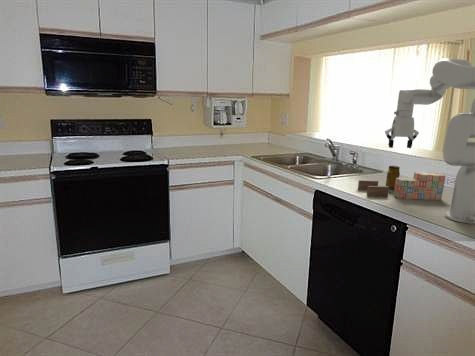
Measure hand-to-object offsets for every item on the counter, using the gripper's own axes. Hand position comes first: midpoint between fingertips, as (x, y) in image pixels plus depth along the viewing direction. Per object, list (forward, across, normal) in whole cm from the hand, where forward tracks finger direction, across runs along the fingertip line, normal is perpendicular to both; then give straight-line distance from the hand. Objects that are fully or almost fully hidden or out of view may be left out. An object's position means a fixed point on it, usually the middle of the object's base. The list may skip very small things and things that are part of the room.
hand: (399, 147), depth 184 cm
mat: (+22, -1, +1) cm, 23 cm away
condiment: (+22, 0, 0) cm, 22 cm away
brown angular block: (+22, -15, -8) cm, 28 cm away
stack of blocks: (+23, +5, -14) cm, 27 cm away
